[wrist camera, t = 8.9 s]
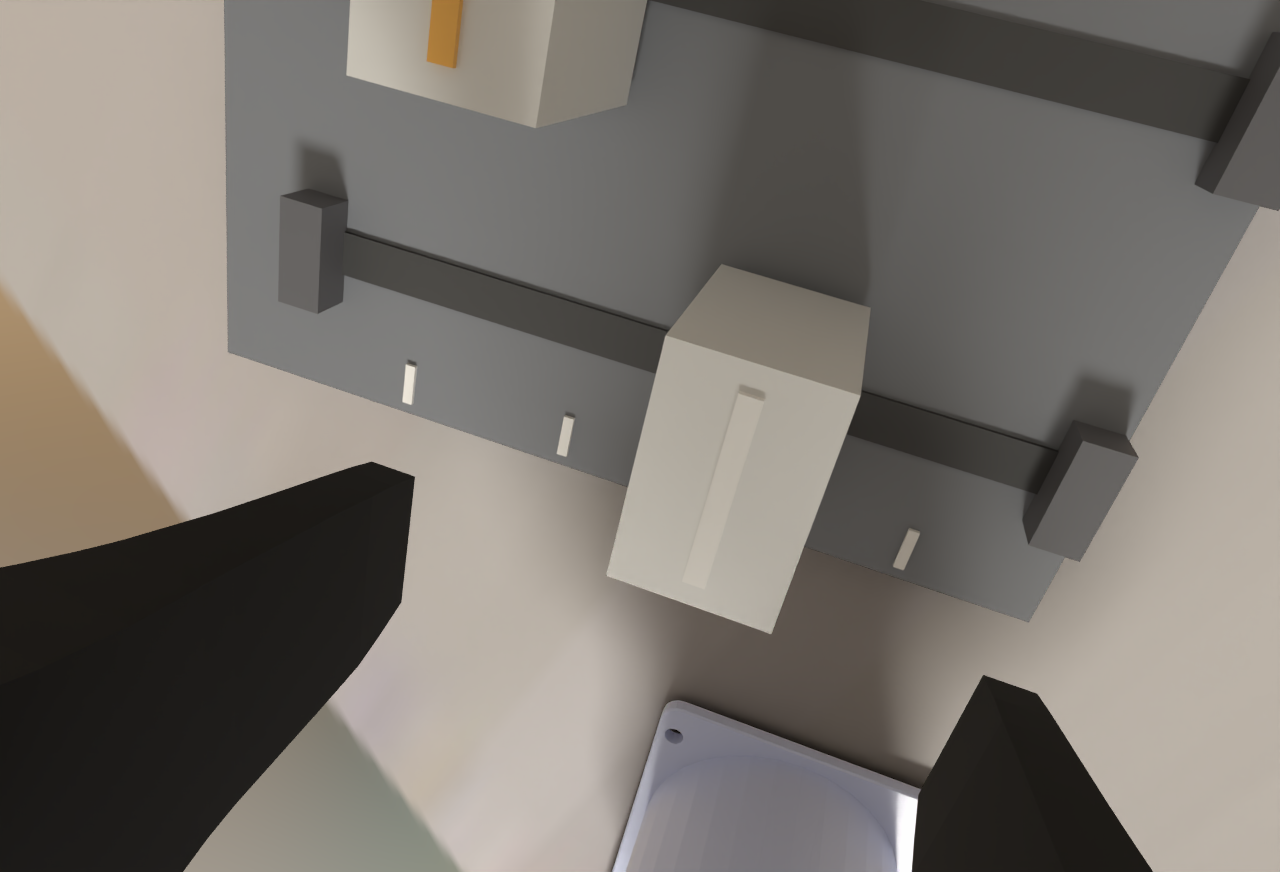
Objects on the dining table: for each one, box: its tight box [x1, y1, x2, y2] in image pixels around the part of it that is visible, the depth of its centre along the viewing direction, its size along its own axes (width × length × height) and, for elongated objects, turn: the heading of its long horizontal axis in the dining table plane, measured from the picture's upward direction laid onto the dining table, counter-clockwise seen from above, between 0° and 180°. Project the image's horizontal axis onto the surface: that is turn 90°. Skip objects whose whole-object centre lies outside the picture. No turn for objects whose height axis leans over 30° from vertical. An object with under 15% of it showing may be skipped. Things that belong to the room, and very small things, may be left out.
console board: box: [224, 0, 1280, 622], centre depth 17 cm, size 14×20×2 cm
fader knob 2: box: [606, 264, 871, 634], centre depth 16 cm, size 5×3×5 cm, turn 167°
